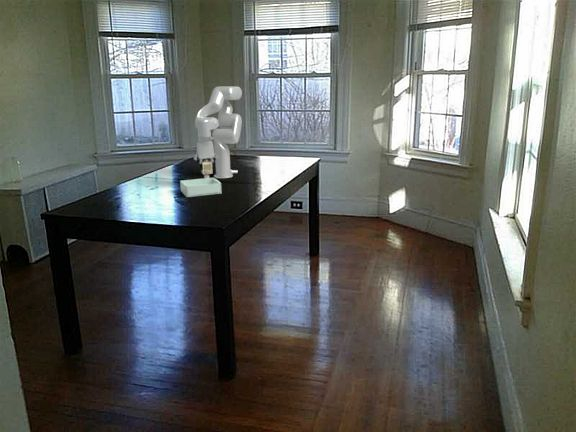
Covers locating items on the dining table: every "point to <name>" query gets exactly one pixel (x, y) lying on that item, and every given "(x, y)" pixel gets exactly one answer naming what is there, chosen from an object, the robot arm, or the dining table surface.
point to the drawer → (206, 167)
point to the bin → (200, 187)
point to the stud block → (208, 176)
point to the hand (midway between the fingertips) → (206, 169)
